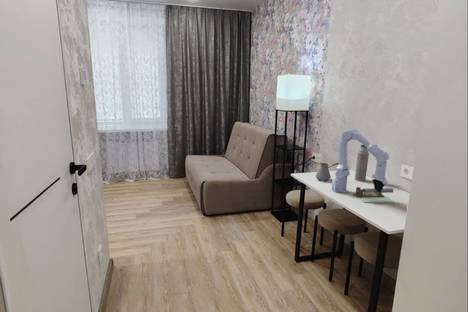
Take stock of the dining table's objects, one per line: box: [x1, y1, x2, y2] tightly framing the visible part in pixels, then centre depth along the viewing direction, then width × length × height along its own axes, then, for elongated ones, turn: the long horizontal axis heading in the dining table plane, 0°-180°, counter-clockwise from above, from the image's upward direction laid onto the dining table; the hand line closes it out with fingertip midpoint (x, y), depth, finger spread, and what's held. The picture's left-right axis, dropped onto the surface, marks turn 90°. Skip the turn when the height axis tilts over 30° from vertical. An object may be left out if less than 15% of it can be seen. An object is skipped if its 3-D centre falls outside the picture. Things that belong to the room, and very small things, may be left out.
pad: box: [358, 197, 395, 204], centre depth 191 cm, size 20×7×1 cm, turn 93°
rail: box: [362, 187, 394, 194], centre depth 190 cm, size 19×2×2 cm, turn 93°
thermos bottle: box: [354, 144, 370, 182], centre depth 230 cm, size 8×8×28 cm
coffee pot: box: [315, 161, 339, 182], centre depth 231 cm, size 21×12×15 cm, turn 97°
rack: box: [352, 186, 385, 198], centre depth 199 cm, size 19×5×5 cm, turn 93°
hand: (377, 191), depth 190 cm, fingers closed on rail, 2 cm apart
